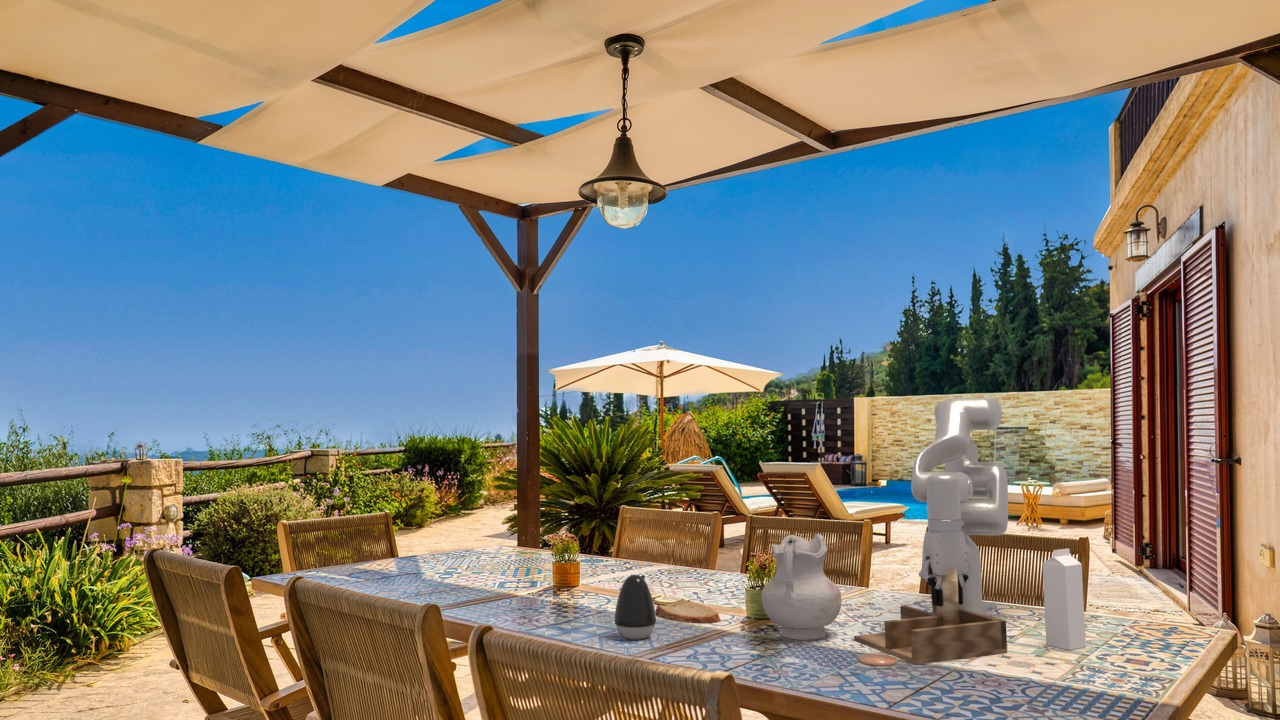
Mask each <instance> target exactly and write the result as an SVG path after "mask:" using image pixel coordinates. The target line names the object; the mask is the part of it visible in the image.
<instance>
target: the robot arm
mask: <svg viewBox="0 0 1280 720" xmlns="http://www.w3.org/2000/svg"><path fill="white" fill-rule="evenodd" d="M1002 414H1003V413H1002V406H1001V405H1000V402H999V401H998V400H997V398H994V397H961V398H958V397H957V398H949V399H944V400H941V401H939V402H938V403H937V404H936V405H935V408H934V418H935V424H936V429H935V435H934V436H935V437H934V441H932V442H931V443H929V444H928V445H927V446H926V447H924V448H923V449H922V451H920V453H919V454H917V457H916V458H915V460H914V463H913V468H912V475H911V483H910V489H911V493H912V496H913V499H915V500H916V501H918V502H921V503H926V510H927V512H926V513H927V531H926V532H925V533H924V536H923V537H924V538H923V543H922V544H923V545H922V558H921V565H922V568H921V569H920V571H919V573H918V576H919V577H920V578H921V579H922V580H924V582H925V583H926V584H927V585H928V587H929V588H930V591H931V593H930V595H931V604H933V605H936V606H940V607H941V606H943V592H942V589H940V585H941V580H942V576H945V575H947V572H948V569H950V568H956V570H957V575H958V599H959V608H960V609H964V610H967V611H971V612H975V613H978V614H982V615H986V616H989V617H990V615H989V614H988V613H987V612H988V611H995V610H997V609H998V604H997V603H996V602H994V601H993V602H992V601H991V602H986V601H984V600H983V591H982V587H983V586H982V569H981V567H982V566H981V565H982V564H981V551H980V550H979V547H978V545H977V544H976V543H975V541H973V539H972V538H971V537H970V536H1002V535H1003V534H1005V533H1006V531H1007V529H1008V523H1009V497H1008V496H1009V495H1008V493H1009V492H1008V491H1009V490H1008V489H1009V485H1008V484H1009V483H1008V477H1007V471H1006V469H1005V467H1004V465H1002V464H1001V463H999V462H994V461H979V448H978V446H977V444H976V443H975V442H974V441H973V440H972V438H971V431H976V430H979V431H988V430H989V431H991V430H995V429H998V427H1000V425H1001V421H1002V416H1003V415H1002ZM941 465H944V471H931V470H932V469H934V468H936V467H938V466H941ZM935 579H936V581H935Z"/></svg>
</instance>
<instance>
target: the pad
mask: <svg viewBox="0 0 1280 720" xmlns="http://www.w3.org/2000/svg"><path fill="white" fill-rule="evenodd" d="M858 661H859V663H861V664H864V665H867V666H873V667H890V666H894V665H896V664H897V662H898V659H897V657H896V656H893V655H891V654H884V653H865V654H862V655H859V656H858Z"/></svg>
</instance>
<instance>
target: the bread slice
mask: <svg viewBox="0 0 1280 720" xmlns="http://www.w3.org/2000/svg"><path fill="white" fill-rule="evenodd" d="M655 615H656V617H658V618H662V619H664V620H667V621H674V622H679V623H687V624H717V623H720V622H721V621H722V620H721V617H720V614H719V613H718V611H716V610H715V609H713V608H712V607H711V608H710V607H709V606H706V605H703V604H701V603H696V602H693V601H689V600H687V599H684V598H682V599H677V600H675V601H672V602H671V603H667V604H666V605H662V604H658V605H657V606H656V608H655Z"/></svg>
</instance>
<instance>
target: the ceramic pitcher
mask: <svg viewBox="0 0 1280 720" xmlns="http://www.w3.org/2000/svg"><path fill="white" fill-rule="evenodd" d="M826 544H827V542H826V537H824V536H823V534H820V533H816V532H814V534H813V538H812V539H810V540H807V539H806V538H804V537H803V536H797V535H795V534H789V535H786V536H785V537H784V538H783V539H782V541H781V542H780V544H779V545H777V544H772V546H771V551H772V552H771V553H772V554H773V557H774V559H775V561H776V573H775V575H774V576H773V577H772V578H771V579H770V580H769V581H768V582H766V584H765V585H764V587H763V588H762V591H761V594H760V595H761V603H762V607H763V609H764V612H765V614H766V616H767V617H768V618H769V620H770V621H771V622H772V623H774V624H776V625H778V626H781V627H782V628H781V629H779V632H778V633H777V634H778V635H780V636H782V637H783V638H785V639H788V640H796V641H797V640H798V641H812V640H823V639H824V638H825V637H826V636H827V633H826V631H825V629H824V628H825V627H827V626H830V625H831V624H832V623H834V621H836V619H837V618H838V616H839V614H840V612H841V608H842V593H841V590H840V588H839V586H838V585H837V584H836V583H835V582H833V581H832V580H831V579H829V577H827V575H826V574H825V572H824V571H825V570H824V564H825V560H826V556H827V553H828V550H829V549H828V547H827V545H826Z"/></svg>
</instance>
